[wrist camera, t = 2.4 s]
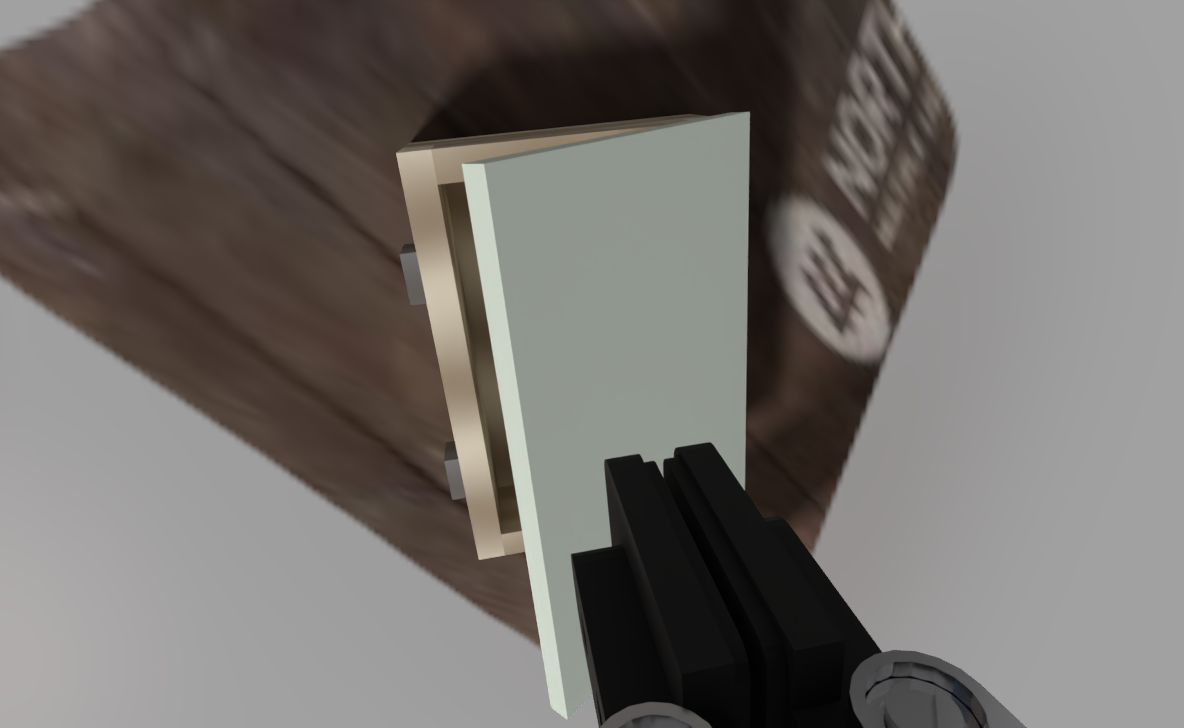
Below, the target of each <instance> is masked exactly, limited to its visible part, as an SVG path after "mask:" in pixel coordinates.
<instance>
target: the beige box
mask: <svg viewBox="0 0 1184 728" xmlns="http://www.w3.org/2000/svg"><path fill="white" fill-rule="evenodd" d="M704 117H709V116H703V115H694V114H684V115H674V116H664V117H655V118H645V119H635V120H626V121H616V122H606V123H597V124H587V125H577V126H568V127H558V128H549V129H539V130H529V131H520V132H510V133H500V134H491V135H481V136H471V137H462V138H452V139H442V140H433V141H423V142H413V143H409V144H408V145H406V146H405V147H404V148H402V149H401V150H400V151H398V152H397V153H396V155H397V160H398V165H399V170H400V175H401V180H402V185H403V190H404V195H405V199H406V204H407V209H408V214H409V219H410V224H411V229H412V234H413V239H414V244H405V245H404V246H403V248H402V250H401V253H400V258H401V263H402V267H403V272H404V276H405V281H406V286H407V290H408V295H409V300H410V304H411V305H419V304H427V307H428V312H429V317H430V322H431V327H432V332H433V337H434V342H435V347H436V352H437V356H438V361H439V366H440V371H441V376H442V381H443V386H444V391H445V396H446V401H447V406H448V410H449V415H450V420H451V425H452V430H453V435H454V440H455V441H451V442H446V447H445V458H444V463H445V467H446V472H447V477H448V481H449V486H450V491H451V495H452V500H454V499H460V498H466V499H467V504H468V509H469V514H470V518H471V523H472V528H473V533H474V538H475V543H476V548H477V553H478V558H479V560H481V559H487V558H492V557H498V556H503V555H509V554H515V553H520V552H525V546H524V540H523V534H522V527H521V521H520V515H519V509H518V503H517V497H516V491H515V485H514V479H513V473H512V467H511V461H510V455H509V448H508V442H507V436H506V430H505V424H504V418H503V412H502V406H501V400H500V394H499V388H498V382H497V376H496V369H495V363H494V357H493V351H492V345H491V339H490V333H489V327H488V321H487V315H486V309H485V303H484V296H483V290H482V284H481V278H480V272H479V266H478V260H477V254H476V248H475V242H474V236H473V230H472V224H471V217H470V211H469V205H468V199H467V193H466V187H465V181H464V175H463V169H462V164H463V163H468V162H473V161H478V160H484V159H489V158H494V157H499V156H505V155H510V154H515V153H520V152H525V151H531V150H536V149H541V148H546V147H552V146H557V145H562V144H567V143H573V142H578V141H583V140H588V139H594V138H599V137H604V136H609V135H615V134H620V133H625V132H630V131H636V130H641V129H646V128H651V127H657V126H662V125H667V124H672V123H678V122H683V121H688V120H693V119H699V118H704Z"/></svg>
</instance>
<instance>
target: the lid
mask: <svg viewBox="0 0 1184 728" xmlns="http://www.w3.org/2000/svg"><path fill="white" fill-rule="evenodd" d="M749 140H750V112H731V113H725V114H720V115H714V116H709V117H704V118H699V119H693V120H688V121H683V122H678V123H672V124H667V125H662V126H657V127H651V128H646V129H641V130H636V131H630V132H625V133H620V134H615V135H609V136H604V137H599V138H594V139H588V140H583V141H578V142H573V143H567V144H562V145H557V146H552V147H546V148H541V149H536V150H531V151H525V152H520V153H515V154H510V155H505V156H499V157H494V158H489V159H484V160H478V161H473V162H468V163H463V164H462V169H463V175H464V181H465V187H466V193H467V199H468V205H469V211H470V217H471V224H472V230H473V236H474V242H475V248H476V254H477V260H478V266H479V272H480V278H481V284H482V290H483V296H484V303H485V309H486V315H487V321H488V327H489V333H490V339H491V345H492V351H493V357H494V363H495V369H496V376H497V382H498V388H499V394H500V400H501V406H502V412H503V418H504V424H505V430H506V436H507V442H508V448H509V455H510V461H511V467H512V473H513V479H514V485H515V491H516V497H517V503H518V509H519V515H520V521H521V527H522V534H523V540H524V546H525V552H526V558H527V564H528V570H529V576H530V582H531V588H532V594H533V600H534V606H535V613H536V619H537V625H538V631H539V637H540V643H541V649H542V655H543V661H544V667H545V673H546V679H547V685H548V691H549V697H550V703H551V708H552V709H554V710H555V711H556V712H558V713H559V714H560V715H562V716H563V717H564V718H566V719H567V720H568V719H569V718H570V717H571V716H572V715H573V714H574V713H575V712H576V710H578V708H579V707H580V706H581V705H582V704H583V703H584V702H585V701H586V700H587V699H588V698H589V697H590V695H591V694H592V688H591V682H590V677H589V672H588V667H587V661H586V656H585V651H584V645H583V640H582V634H581V628H580V621H579V615H578V608H577V602H576V594H575V587H574V579H573V571H572V563H571V554H573V553H578V552H584V551H589V550H595V549H600V548H606V547H611V546H612V544H611V534H610V523H609V513H608V502H607V492H606V481H605V471H604V461H605V459H610V458H616V457H622V456H628V455H634V454H640V455H641V457H642V459H643V461H644V462H649V461H655V462H656V464H657V466H658V468H659V470H660V472H661V474H662V476H663V461H664V459H667V458H673V457H674V450H675V448H676V447H682V446H688V445H694V444H700V443H706V442H711V443H712V444H713V445H714V446H715V448H716V449H717V451H718V452H719V454H720V455H721V456H722V458H723V459H724V461H725V462H726V464H727V465H728V467H729V468H730V470H731V471H732V473H733V474H734V476H735V477H736V479H737V480H738V482H739V483H740V485H741V486H742V487H743V489H744V490H745V443H746V367H747V292H748V216H749ZM663 478H664V476H663Z"/></svg>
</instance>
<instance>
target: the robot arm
mask: <svg viewBox="0 0 1184 728" xmlns="http://www.w3.org/2000/svg"><path fill="white" fill-rule="evenodd" d="M604 471H605V481H606V492H607V502H608V513H609V523H610V534H611V544H612V546H611V547H606V548H600V549H595V550H589V551H584V552H578V553H573V554H571V563H572V571H573V579H574V587H575V594H576V602H577V608H578V615H579V621H580V628H581V634H582V640H583V645H584V651H585V656H586V661H587V667H588V672H589V677H590V682H591V688H592V693H593V698H594V703H595V709H596V713H597V719H598V724H599V728H1026V727H1025V726H1024V725H1023V724H1022V723H1021V722H1020V721H1019V720H1018V719H1017V718H1016V717H1014V715H1012V714H1011V713H1010V712H1009V711H1008V710H1007V709H1006V708H1005V707H1004V706H1003V705H1002V704H1001V703H1000V702H999V701H998V700H997V699H995V697H993V696H992V695H991V694H990V693H989V692H988V691H987V690H986V689H985V688H984V687H983V686H982V685H981V684H980V683H978V682H977V681H976V680H974V679H973V678H972V677H970V676H969V675H968V674H966V673H965V672H964V671H962V670H961V669H960V668H958V667H956V666H954V665H952V664H950V663H948V662H945V661H943V660H942V659H940V658H937V657H934V656H930V655H926V654H923V653H920V652H916V651H901V650H892V651H888V652H883V653H882V652H881V650H880V649H879V647H878V646H877V645H876V643H875V642H874V640H873V639H872V638H871V636H870V635H869V634H868V632H867V631H866V629H865V628H864V627H863V625H862V624H861V623H860V621H859V620H858V619H857V617H856V616H855V614H854V613H853V612H852V610H851V609H850V607H849V606H848V605H847V603H846V602H845V601H844V599H843V598H842V597H841V595H840V594H839V592H838V591H837V590H836V588H835V587H834V586H833V584H832V583H831V582H830V580H829V579H828V577H827V576H826V575H825V573H824V572H823V570H822V569H821V568H820V566H819V565H818V564H817V562H816V561H815V559H814V558H813V557H812V555H811V554H810V553H809V551H808V550H807V548H806V547H805V546H804V544H803V543H802V542H801V540H800V539H799V537H798V536H797V535H796V533H795V532H794V531H793V529H792V528H791V527H790V525H789V524H788V523H787V522H786V521H785V520H784V519H783V518H781V517H779V516H776V517H771V518H765V519H764V518H763V517H762V515H761V514H760V513H759V511H758V510H757V508H756V507H755V505H754V504H753V502H752V501H751V499H750V498H749V496H748V495H747V493H746V492H745V490H744V489H743V487H742V486H741V485H740V483H739V482H738V480H737V479H736V477H735V476H734V474H733V473H732V471H731V470H730V468H729V467H728V465H727V464H726V462H725V461H724V459H723V458H722V456H721V455H720V454H719V452H718V451H717V449H716V448H715V446H714V445H713V444H712V443H711V442H706V443H700V444H694V445H688V446H682V447H676V448H675V450H674V457H673V458H667V459H664V461H663V476H664V478H663V476H662V474H661V472H660V470H659V468H658V466H657V464H656V462H655V461H649V462H644V461H643V459H642V457H641V455H640V454H634V455H628V456H622V457H616V458H610V459H605V461H604Z"/></svg>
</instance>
